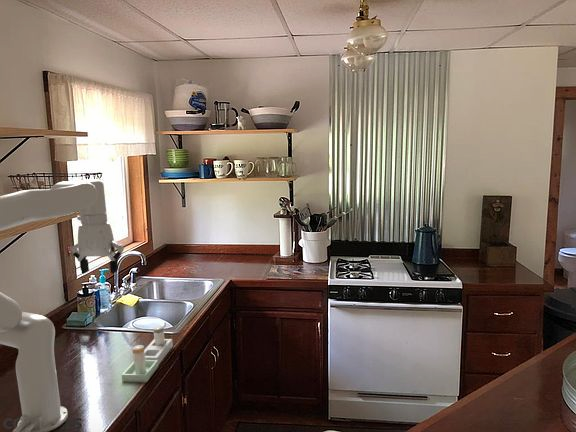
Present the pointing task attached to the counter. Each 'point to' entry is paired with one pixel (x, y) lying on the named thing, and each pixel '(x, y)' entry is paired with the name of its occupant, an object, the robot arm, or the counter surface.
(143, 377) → the tray
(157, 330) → the cylinder
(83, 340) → the counter surface
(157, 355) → the holder block
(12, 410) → the counter surface
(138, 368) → the cylinder
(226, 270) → the counter surface
